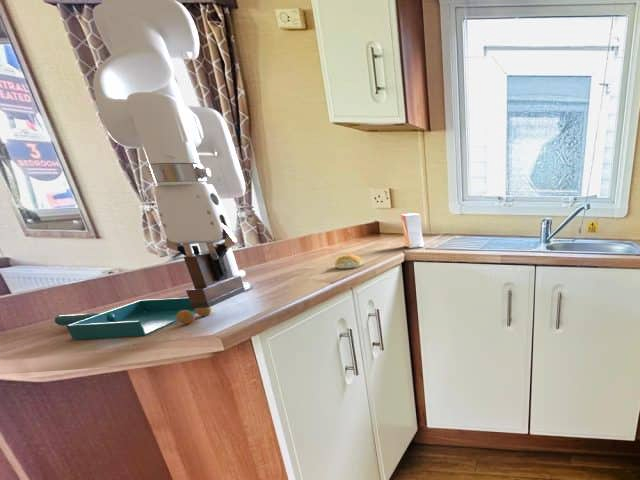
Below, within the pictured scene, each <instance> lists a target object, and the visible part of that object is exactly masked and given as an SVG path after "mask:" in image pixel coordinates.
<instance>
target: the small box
mask: <svg viewBox="0 0 640 480" xmlns="http://www.w3.org/2000/svg"><path fill="white" fill-rule="evenodd" d="M400 218H401V225H402V232H403V233H402V234H403V239H404V247H407V248H409V249H415V248H423V247H425V244H424V236H423V229H422V221H421V214H420V213H404V214H400Z"/></svg>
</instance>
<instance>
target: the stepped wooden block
mask: <svg viewBox="0 0 640 480" xmlns="http://www.w3.org/2000/svg"><path fill="white" fill-rule="evenodd" d="M183 259H184V262H185V265H186V268H187V271H188V273H189V276H190V280H191V282H192V284H193V287H192V288H189V289H186V290H185V292H186V295H187V298H189V300H190V303H191V305H192V308H208V307H211V308H212V307H214V306H215V305H218V304H220V303H222V302H224V301H226V300H229V299H231V298H233V297H235V296H238V295H240V294H242V293H244V292H246V290H245V289H244V286H243V282H244V281H243V280H242V278H241V276H240V275H237V276H233V274H232V271H231V267H230V264H229V261H228V258H227V255H226V254H225V257H224V258H223V260H224V263H225V266H226V269H227V272H228V274H227V276H228V278H227V279H224V280H221V281H217V280H216V279H215V276H214V273H213V270H212V267H211V264H210V260H212V258H211V255H210V253H209V251H207V252H203V253H199V254H194V255H190V256H183Z"/></svg>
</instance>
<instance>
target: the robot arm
mask: <svg viewBox="0 0 640 480" xmlns="http://www.w3.org/2000/svg"><path fill="white" fill-rule="evenodd" d="M92 19H93V22H94V26H95V27H96V30H97V32H98V34H99V36H100V38H101V40H102V42H103V44H104V46H105V47H106V50H107V51H108V52H109V53H110V55H109V56H108V57H107V58H105V60H104V61H103V62H102V63H101V64H100V65H99V66H98V68H97V69H96V71H95V72H94V75H93V78H92V88H93V94H94V97H95V101H96V106H97V110H98V113H99V116H100V119H101V122H102V124H103V127H104V129H105V131H106V132H107V134H108V135H109V137H110V138H111V139H112V140H113V141H114V142H115V143H117V144H118V145H120V146H122V147H125V148H127V149H128V148H130V149H142V150H143V152H144V155H145V157H146V161H147V163H148V165H149V169H150V171H151V174H152V177H153V180H154V182H155V185H153V194H154V202H155V207H156V209H157V214H158V217H159V221H160V224H161V226H162V230H163V232H164V235H165V246H166V247H167V249H170V250H173V251H175V252H179V253H180V254H182V255H183V256H184V257H186V256H190V255H194V254H199V253H203V252H207V251H209V253H210V255H211V258H212V260H210V264H211V267H212V270H213V273H214V276H215V279H216V280H217V281H221V280H224V279H227V278H228V276H227V274H228V272H227V269H226V266H225V263H224V260H223V258H224V257H225V254H226V255H227V258H228V261H229V264H230V267H231V271H232V274H233V276H237V275H240V276H241V279H242V278H244V277H246V271H244V270H243V269H240V270H239V267H238V265H237V261H236V258H235V255H234V252H233V249H232V247H235V246H236V245H238V243H239V241H238V240H237V238H236V237H235V236H234V232H233V229H232V226H231V222H230V220H229V216H228V214H227V212H226V210H225V208H224V205H223V203H222V200H225V199H238V198H242V197H244V196H245V194H246V189H247V188H246V182H245V177H244V175H243V174H244V173H243V171H242V167H241V164H240V161H239V158H238V155H237V152H236V148H235V145H234V142H233V139H232V135H231V133H230V131H229V127H228V125H227V122H226V121H225V119H224V117H223V116H222V115H221V113H220V112H219V111H217V110H216V109H214V108H212V107H207V106H195V105H194V106H193V105H190V106H189V105H185V103H184V100H183V97H182V94H181V90H180V88H179V86H178V84H177V82H176V81H175V80H174V75H175V69H174V66H173V62H172V60H171V59H178V60H179V59H180V60H196V59H197V58H198V57H199V54H200V37H199V32H198V29H197V26H196V23H195V21H194V19H193V17H192V15H191V14H190V12H189V11H188V9H187V7H185V6H184V5H183V3H181V2H180V1H177V0H102V1H101V3H99V4H96V5H95V6H94V7H93V9H92ZM210 154H211V155H210ZM242 282H243V286H244V289H245V291H247V290H250V289H251V285H250V283H249V282H247V281H242Z"/></svg>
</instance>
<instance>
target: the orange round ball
mask: <svg viewBox="0 0 640 480" xmlns="http://www.w3.org/2000/svg"><path fill="white" fill-rule="evenodd" d="M195 311H196V312H195V313H196V314H197V315H198V316H202V317H206V316H209V315H210V314H211V312H212V306H211V307H208V308H195Z"/></svg>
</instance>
